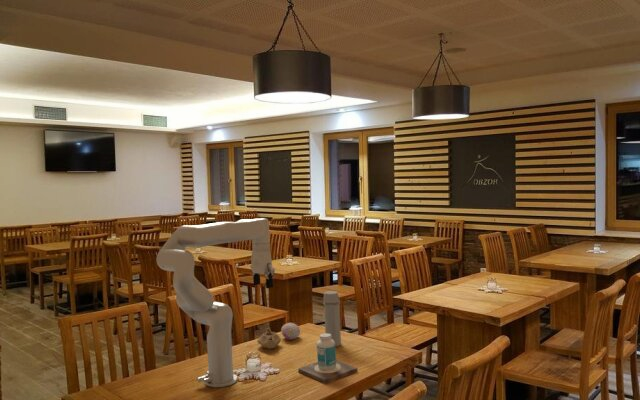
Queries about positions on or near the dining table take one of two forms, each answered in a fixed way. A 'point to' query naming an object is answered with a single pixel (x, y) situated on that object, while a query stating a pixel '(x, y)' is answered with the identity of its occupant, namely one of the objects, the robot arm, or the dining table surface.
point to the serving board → (327, 372)
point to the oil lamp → (269, 339)
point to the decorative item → (290, 331)
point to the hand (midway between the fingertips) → (263, 286)
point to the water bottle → (332, 316)
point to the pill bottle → (326, 352)
